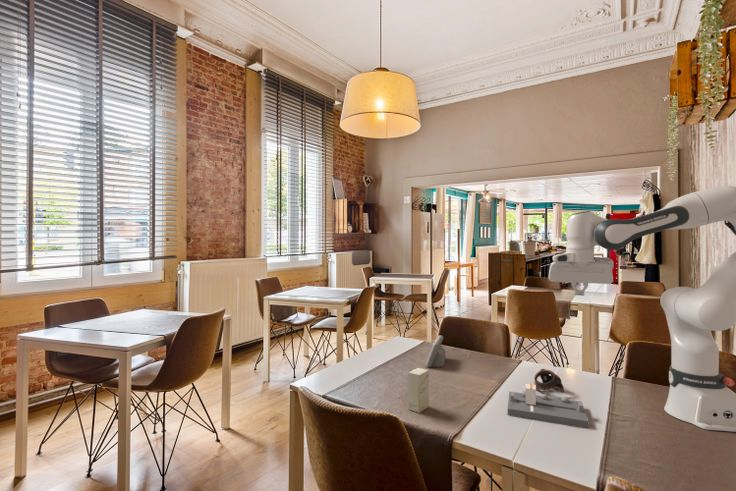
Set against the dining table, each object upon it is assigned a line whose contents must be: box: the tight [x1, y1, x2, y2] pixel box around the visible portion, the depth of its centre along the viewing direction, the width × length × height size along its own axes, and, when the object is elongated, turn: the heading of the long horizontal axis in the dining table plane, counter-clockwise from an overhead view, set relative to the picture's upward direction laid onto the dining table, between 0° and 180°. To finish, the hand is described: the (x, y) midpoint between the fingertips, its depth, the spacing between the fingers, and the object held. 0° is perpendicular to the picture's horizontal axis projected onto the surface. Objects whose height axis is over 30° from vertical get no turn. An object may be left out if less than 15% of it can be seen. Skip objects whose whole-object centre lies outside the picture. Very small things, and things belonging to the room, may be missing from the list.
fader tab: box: [525, 383, 537, 405], centre depth 123 cm, size 3×4×5 cm
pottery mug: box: [533, 368, 565, 393], centre depth 138 cm, size 12×10×8 cm
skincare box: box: [407, 367, 430, 414], centre depth 124 cm, size 6×4×12 cm
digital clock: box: [424, 335, 447, 368], centre depth 168 cm, size 16×9×11 cm, turn 149°
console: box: [507, 390, 589, 429], centre depth 121 cm, size 22×14×4 cm, turn 67°
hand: (579, 295), depth 137 cm, fingers closed
